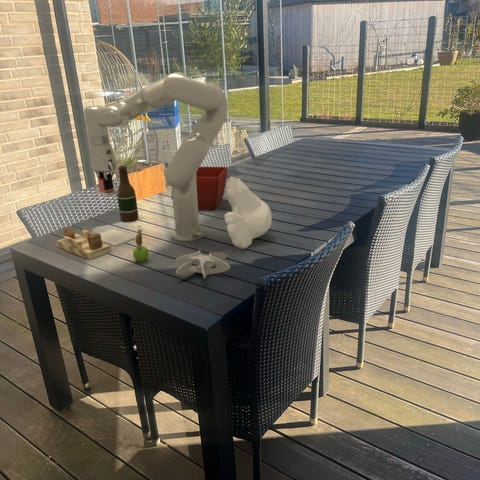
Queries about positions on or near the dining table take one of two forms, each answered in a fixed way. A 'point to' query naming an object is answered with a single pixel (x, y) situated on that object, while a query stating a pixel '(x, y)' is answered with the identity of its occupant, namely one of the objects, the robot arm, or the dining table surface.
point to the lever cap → (103, 191)
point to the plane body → (83, 244)
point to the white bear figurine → (245, 214)
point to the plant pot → (210, 187)
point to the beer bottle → (126, 197)
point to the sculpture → (201, 264)
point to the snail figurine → (140, 248)
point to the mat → (116, 237)
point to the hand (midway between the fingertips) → (106, 187)
